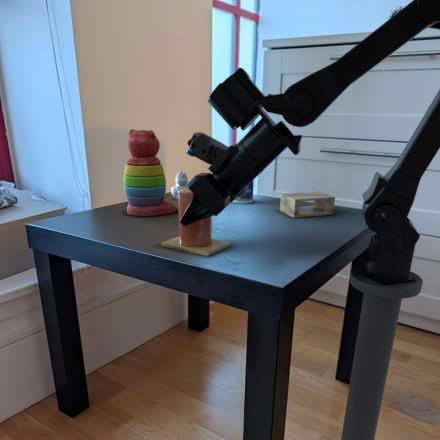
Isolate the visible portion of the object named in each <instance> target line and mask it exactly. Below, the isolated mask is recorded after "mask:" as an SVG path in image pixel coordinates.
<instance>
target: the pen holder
mask: <svg viewBox="0 0 440 440" xmlns="http://www.w3.org/2000/svg"><path fill="white" fill-rule="evenodd" d="M192 199H193V193H192V192H191V191H190V190H189V189H188V188H182V189H179V190H178V199H177V209H178V234H179V235H178V236H179V238H180V244H181V245H183V246H187V247H204V246H208V245H210V244H211V243H212V239H213V216H211V217H208V218H205V219H202V220H199V221H197V222H194V223H191V224H189V225H186V226H183V225H182V224H181V223H180V220H181V218H182V217H183V215H184V213H185V211H186V210H187V208H188V206H189V204H190V203H191V201H192Z"/></svg>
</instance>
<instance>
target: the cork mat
mask: <svg viewBox="0 0 440 440" xmlns="http://www.w3.org/2000/svg"><path fill="white" fill-rule="evenodd" d="M231 245H232V243H231V242H230V241H226V240H220V239H215V238H212V243H211V244H210V245H208V246H204V247H187V246H183V245H181V244H180V238H179V235H178V236H176V237H172V238H169V239H167V240H164V241H162V242H160V246H161V247H164V248H170V249H173V250H177V251H183V252H187V253H191V254H195V255H199V256H200V255H201V256H205V257H209V256H212V255H214V254H216V253H218V252H220V251H222V250H224V249H227V248H229V247H231Z"/></svg>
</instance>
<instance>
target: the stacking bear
mask: <svg viewBox="0 0 440 440" xmlns="http://www.w3.org/2000/svg"><path fill="white" fill-rule="evenodd" d="M127 138H128V139H127V143H126V144H127V149H128V152H129V154H130V156H131V157H129V158H128V159H127V161H126V164H125V167H124V175H123V189H124V193H125V197H126V200H127V203H128V205H127V206H126V213H127V214H128V215H130V216H134V217H156V216H162V215H168V214H171V213H175V212H177V207H176V205H175V204H174V203H173V202H169V201H166V200H165V197H166V196H165V195H166V191H167V180H166V175H165V174H164V173H165V170H164V167H163V164H162V163H161V160H160V159H159V158H158V157H157V155H158V153H159V150H160V147H161V146H160V145H161V144H160V141H159V139H158V136H156V133H155V132H154V130H151V129H150V130H147V129H138V130H135V129H134V128H132V129H130V130H129V131H128V137H127Z"/></svg>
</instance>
